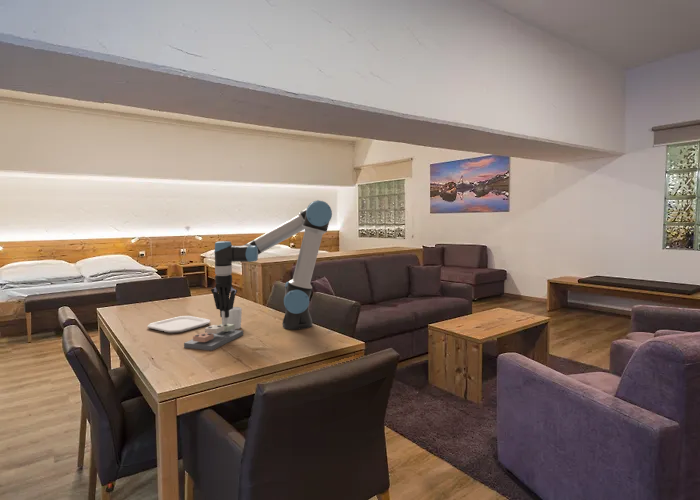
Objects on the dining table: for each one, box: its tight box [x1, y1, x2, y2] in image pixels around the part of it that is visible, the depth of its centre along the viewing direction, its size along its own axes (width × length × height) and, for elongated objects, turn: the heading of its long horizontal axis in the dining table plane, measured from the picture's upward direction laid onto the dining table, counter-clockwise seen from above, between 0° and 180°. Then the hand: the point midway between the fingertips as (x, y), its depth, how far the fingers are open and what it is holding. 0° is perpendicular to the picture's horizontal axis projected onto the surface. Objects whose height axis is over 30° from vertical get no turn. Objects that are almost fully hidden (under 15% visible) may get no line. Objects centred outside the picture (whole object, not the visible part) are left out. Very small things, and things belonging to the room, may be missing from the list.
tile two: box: [204, 324, 224, 334], centre depth 186 cm, size 6×6×2 cm
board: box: [183, 329, 244, 351], centre depth 187 cm, size 14×24×2 cm, turn 162°
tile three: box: [192, 332, 214, 342], centre depth 179 cm, size 6×6×2 cm
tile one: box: [220, 323, 235, 332], centre depth 194 cm, size 6×6×2 cm
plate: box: [147, 315, 211, 334], centre depth 212 cm, size 25×25×2 cm
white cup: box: [228, 306, 243, 330], centre depth 208 cm, size 8×8×10 cm
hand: (224, 324), depth 194 cm, fingers closed
